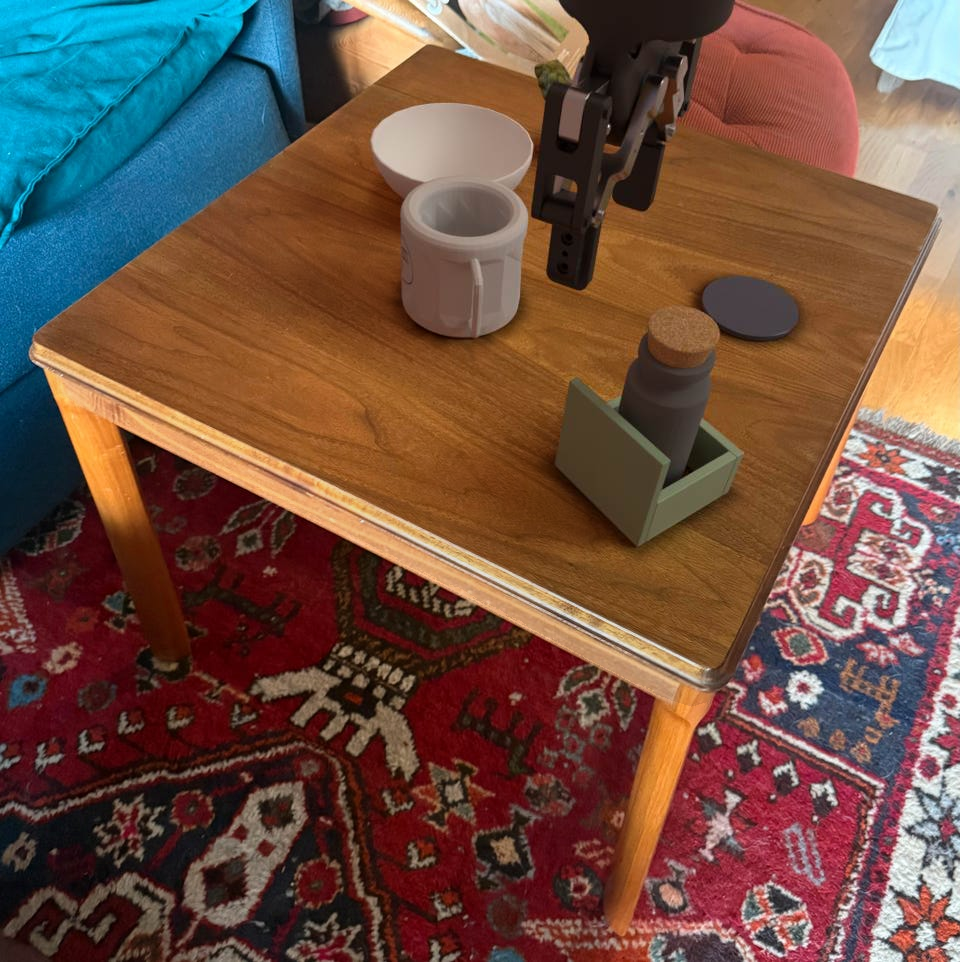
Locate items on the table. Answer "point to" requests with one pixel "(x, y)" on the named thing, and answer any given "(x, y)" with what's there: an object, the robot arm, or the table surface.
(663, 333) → the bottle
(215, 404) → the table surface
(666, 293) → the table surface
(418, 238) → the mug
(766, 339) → the coaster
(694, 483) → the holder
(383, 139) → the bowl
